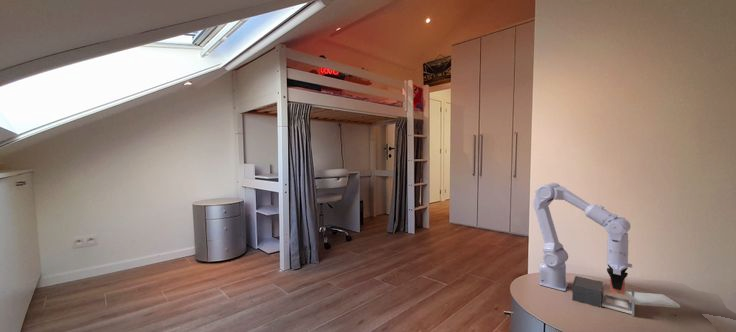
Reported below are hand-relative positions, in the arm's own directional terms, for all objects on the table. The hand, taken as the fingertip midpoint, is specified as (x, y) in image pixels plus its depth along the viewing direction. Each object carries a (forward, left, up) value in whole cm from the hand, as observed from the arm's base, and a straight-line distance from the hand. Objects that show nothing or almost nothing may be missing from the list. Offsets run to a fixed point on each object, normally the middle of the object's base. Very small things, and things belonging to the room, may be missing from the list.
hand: (617, 286), depth 105 cm
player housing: (-9, 0, -8) cm, 11 cm away
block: (0, 0, -2) cm, 2 cm away
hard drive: (+10, +13, -8) cm, 18 cm away
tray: (-1, 0, -8) cm, 8 cm away
